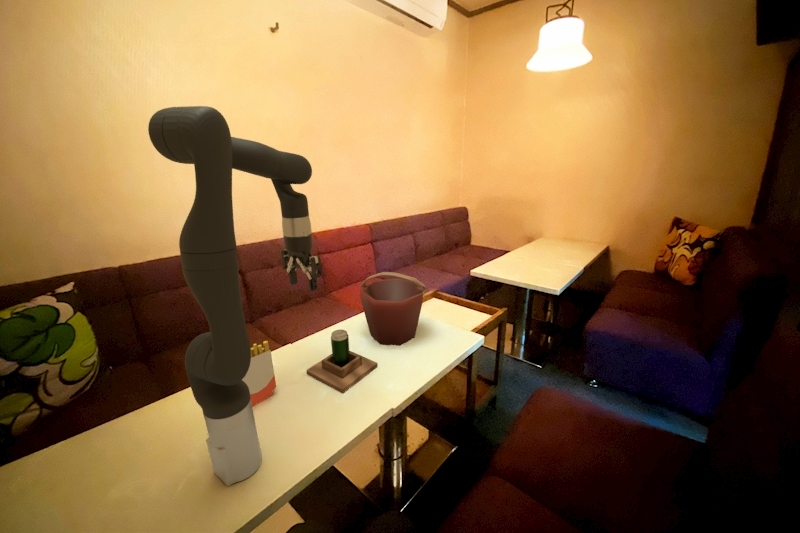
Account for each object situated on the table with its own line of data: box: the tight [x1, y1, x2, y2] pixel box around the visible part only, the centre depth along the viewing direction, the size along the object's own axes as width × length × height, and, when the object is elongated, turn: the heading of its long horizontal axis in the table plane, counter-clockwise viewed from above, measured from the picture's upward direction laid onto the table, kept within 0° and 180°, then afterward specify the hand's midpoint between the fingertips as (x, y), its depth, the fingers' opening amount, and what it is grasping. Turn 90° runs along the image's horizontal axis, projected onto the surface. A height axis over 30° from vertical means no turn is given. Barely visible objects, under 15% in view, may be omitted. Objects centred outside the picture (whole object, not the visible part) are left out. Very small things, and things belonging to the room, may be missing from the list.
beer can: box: [330, 329, 350, 368], centre depth 111 cm, size 5×5×12 cm
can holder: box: [305, 350, 378, 394], centre depth 113 cm, size 16×16×4 cm
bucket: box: [359, 271, 428, 347], centre depth 130 cm, size 24×22×25 cm
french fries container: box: [242, 340, 277, 407], centre depth 98 cm, size 5×11×18 cm, turn 135°
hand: (303, 287), depth 101 cm, fingers open, 8 cm apart
